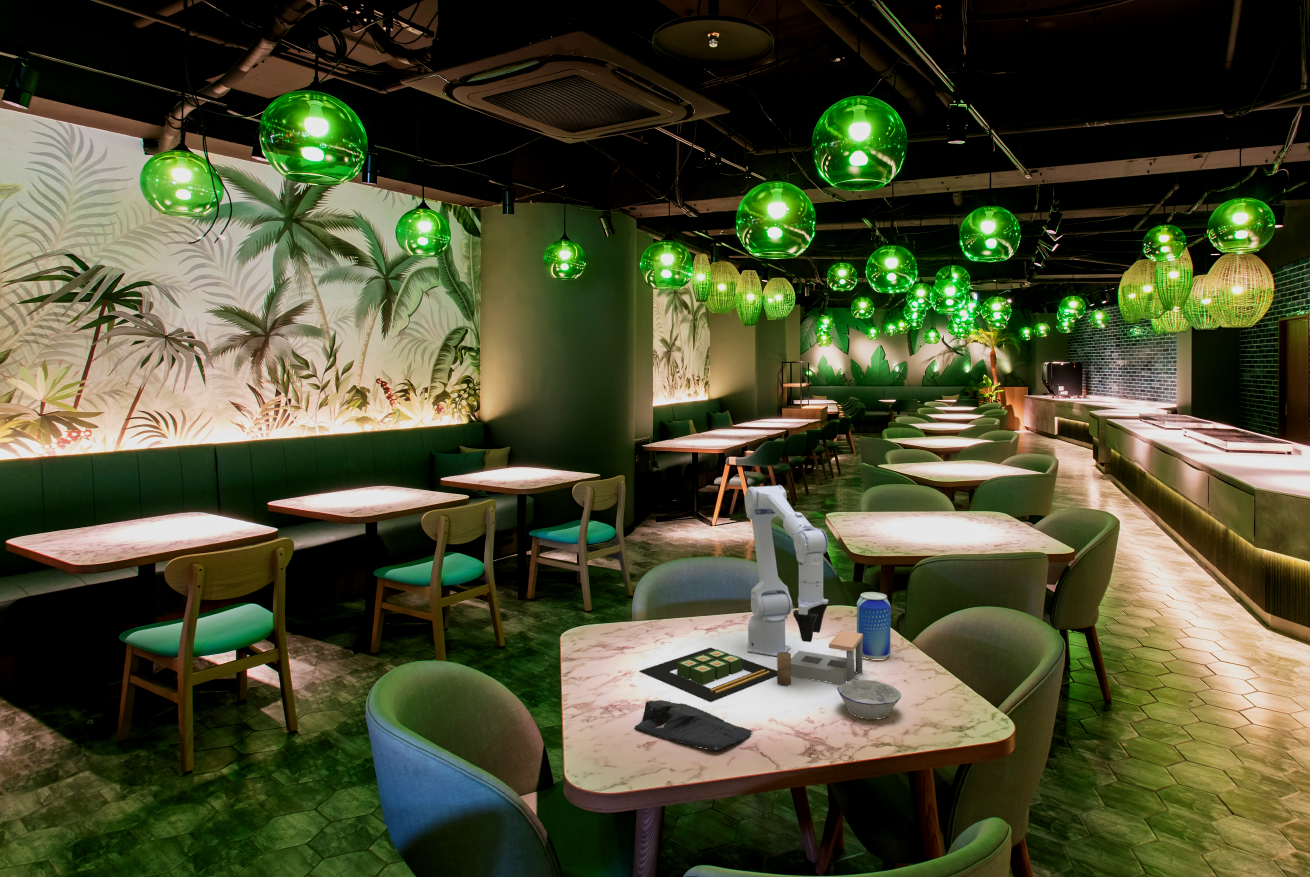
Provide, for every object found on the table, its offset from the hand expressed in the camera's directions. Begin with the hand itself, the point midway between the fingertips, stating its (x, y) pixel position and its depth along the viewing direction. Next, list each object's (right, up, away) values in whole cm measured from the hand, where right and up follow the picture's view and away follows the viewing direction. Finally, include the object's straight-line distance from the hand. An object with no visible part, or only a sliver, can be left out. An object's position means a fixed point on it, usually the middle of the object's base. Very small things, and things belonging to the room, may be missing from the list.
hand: (811, 636), depth 174 cm
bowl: (+8, -12, -18) cm, 23 cm away
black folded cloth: (-30, -13, -26) cm, 41 cm away
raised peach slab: (+9, -10, +1) cm, 13 cm away
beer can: (+20, -10, +16) cm, 27 cm away
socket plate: (+3, -10, +4) cm, 11 cm away
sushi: (-24, -11, +5) cm, 27 cm away
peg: (-7, -11, -2) cm, 13 cm away
